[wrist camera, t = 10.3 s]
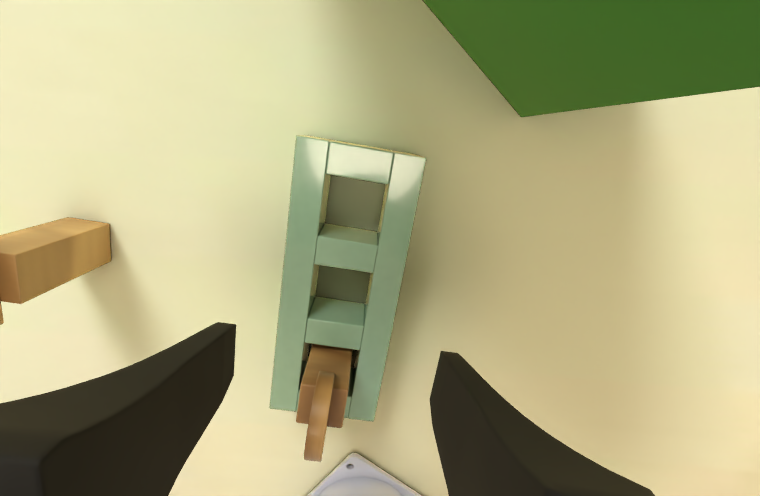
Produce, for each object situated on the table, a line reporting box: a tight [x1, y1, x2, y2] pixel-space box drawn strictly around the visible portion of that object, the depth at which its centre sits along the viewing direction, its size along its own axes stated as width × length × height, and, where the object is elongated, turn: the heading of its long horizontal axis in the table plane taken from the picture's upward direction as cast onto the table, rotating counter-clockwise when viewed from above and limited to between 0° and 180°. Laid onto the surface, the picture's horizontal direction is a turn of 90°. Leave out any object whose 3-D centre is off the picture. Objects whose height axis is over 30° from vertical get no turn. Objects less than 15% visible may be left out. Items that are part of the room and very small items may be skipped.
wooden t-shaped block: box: [0, 217, 111, 325], centre depth 18 cm, size 2×5×8 cm, turn 170°
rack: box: [270, 135, 426, 421], centre depth 22 cm, size 6×16×3 cm, turn 170°
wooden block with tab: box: [296, 344, 353, 462], centre depth 20 cm, size 2×4×8 cm, turn 170°
